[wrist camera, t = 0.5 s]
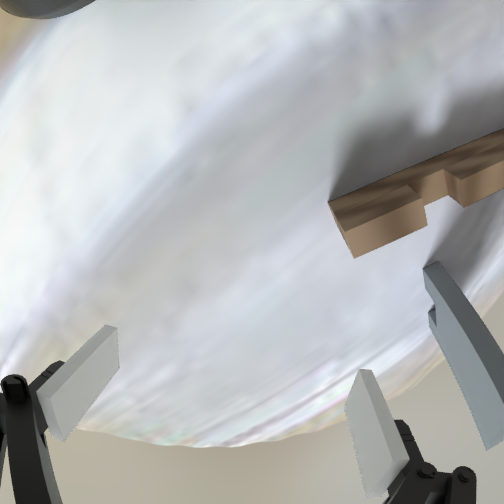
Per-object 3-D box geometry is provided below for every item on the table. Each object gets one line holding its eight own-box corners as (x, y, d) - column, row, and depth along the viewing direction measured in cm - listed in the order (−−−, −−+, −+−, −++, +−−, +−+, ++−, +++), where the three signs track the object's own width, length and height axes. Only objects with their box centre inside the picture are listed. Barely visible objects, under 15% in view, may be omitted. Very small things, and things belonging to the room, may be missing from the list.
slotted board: (337, 226, 26) (354, 258, 22) (327, 202, 25) (344, 232, 21) (529, 140, 20) (561, 156, 16) (526, 119, 19) (560, 133, 15)
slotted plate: (422, 268, 29) (509, 415, 13) (438, 261, 28) (529, 401, 13) (429, 327, 33) (486, 450, 18) (442, 320, 33) (502, 440, 18)
